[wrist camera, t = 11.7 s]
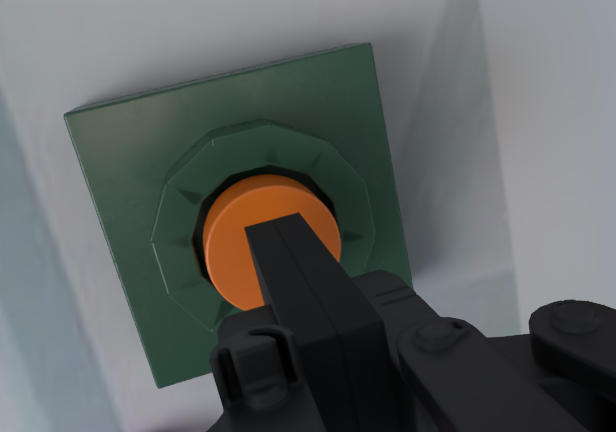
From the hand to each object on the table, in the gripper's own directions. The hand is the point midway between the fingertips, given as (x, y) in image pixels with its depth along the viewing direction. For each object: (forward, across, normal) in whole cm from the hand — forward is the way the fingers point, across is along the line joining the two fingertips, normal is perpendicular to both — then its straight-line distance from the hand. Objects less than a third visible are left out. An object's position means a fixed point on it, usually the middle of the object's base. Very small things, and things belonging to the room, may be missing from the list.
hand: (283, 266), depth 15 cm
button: (+3, 0, 0) cm, 3 cm away
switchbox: (+7, 0, 0) cm, 7 cm away
